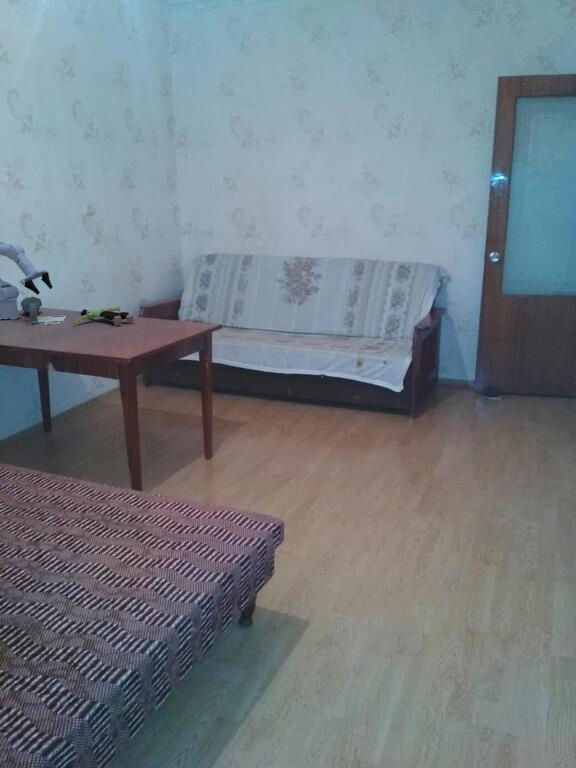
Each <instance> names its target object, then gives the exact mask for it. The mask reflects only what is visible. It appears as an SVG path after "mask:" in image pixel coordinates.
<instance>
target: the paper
mask: <svg viewBox="0 0 576 768" xmlns="http://www.w3.org/2000/svg"><path fill="white" fill-rule="evenodd" d="M61 316H62V317H52V315H50V316H49V315H48V316H37V318H38V323H45V322H53V321H60V322H65V320H64V319H66V317H67V315H61ZM63 316H64V317H63Z"/></svg>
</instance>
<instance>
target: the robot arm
mask: <svg viewBox="0 0 576 768" xmlns="http://www.w3.org/2000/svg"><path fill="white" fill-rule="evenodd" d="M0 256H3V257H7V258H8V259H9V260H12V261H13V262H14V263H15V264H16V266H18V268H19V269H20V271H21V272H22V273H23V274H24V276H25V277H24V278H22V279H20V281H19V283H20V284H21V285H23V286H24V288H25V289H28V290H29V291H30V290H31V291H32V292H33V293H34V294H36V295H37V296H38V295H40V294H41V293H40V290H39V289H38V287H37V286H36V285H35V283H34V281H35V280H36V279H39V278H41V279H40V280H41V281H42V282H43V283H44V284H45V285H46V286H47V287H48V288H49V290H51V289H52V288H54V286H53V284H52V283H51V280H50V279H51V278H50V275H49V271H48V270H47V269H43V270H39V271H38V270H37V269H36V267H35V266H34V265H33V263H32V262H31V260H29V258H28V257H27V256H26V255H25V250H24V248H23V247H22V246H21V245H15V246H14V245H13V244H12V243H11V244H7V243H5V242H4V241H0ZM19 295H20V291H19V288H18V287H17V286H15V285H13V284H12V283H10V282H7V281H4V280H3V279H2V278H1V277H0V316H1V317H0V318H17V317H19V316H18V315H19V310H18V302H17V301H18V297H19Z"/></svg>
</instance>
